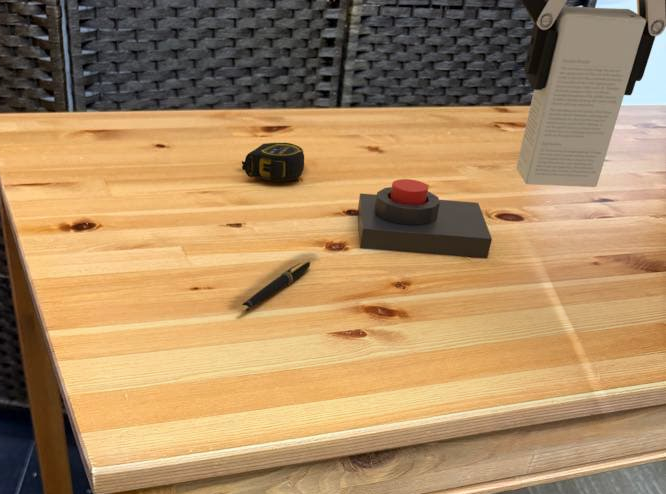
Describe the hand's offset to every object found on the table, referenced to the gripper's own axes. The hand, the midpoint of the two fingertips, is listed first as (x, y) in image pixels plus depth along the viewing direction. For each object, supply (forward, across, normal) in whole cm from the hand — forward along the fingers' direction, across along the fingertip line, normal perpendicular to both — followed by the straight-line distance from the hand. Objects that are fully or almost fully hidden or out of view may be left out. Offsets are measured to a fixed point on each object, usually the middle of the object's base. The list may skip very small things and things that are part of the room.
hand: (579, 85), depth 64 cm
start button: (+17, +9, -21) cm, 29 cm away
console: (+20, +7, -21) cm, 30 cm away
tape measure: (+21, +25, -36) cm, 49 cm away
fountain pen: (+20, +23, -3) cm, 31 cm away
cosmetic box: (+7, 0, 0) cm, 7 cm away
